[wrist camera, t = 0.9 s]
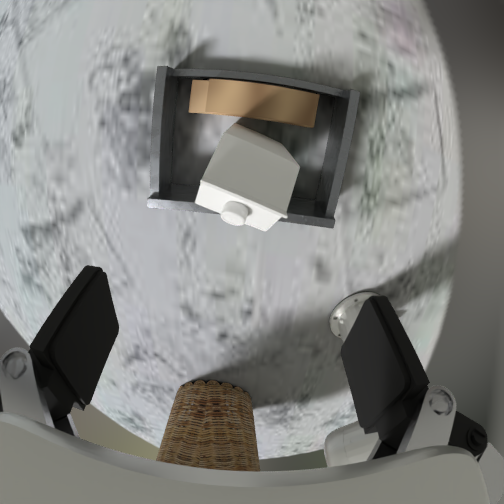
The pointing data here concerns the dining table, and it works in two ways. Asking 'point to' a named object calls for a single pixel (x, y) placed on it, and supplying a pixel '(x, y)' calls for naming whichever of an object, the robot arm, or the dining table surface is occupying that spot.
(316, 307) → the dining table surface
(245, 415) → the wicker basket
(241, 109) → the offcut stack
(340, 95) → the dark grey tray
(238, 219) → the milk carton
